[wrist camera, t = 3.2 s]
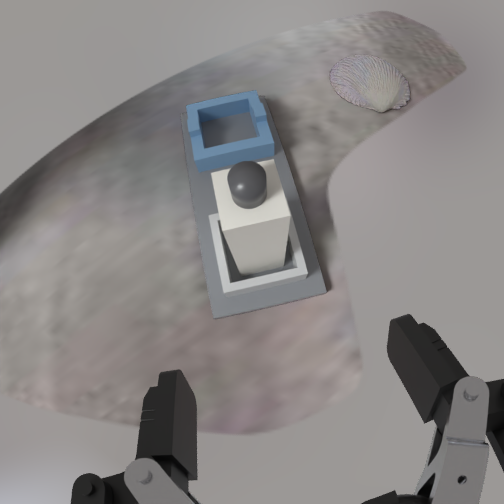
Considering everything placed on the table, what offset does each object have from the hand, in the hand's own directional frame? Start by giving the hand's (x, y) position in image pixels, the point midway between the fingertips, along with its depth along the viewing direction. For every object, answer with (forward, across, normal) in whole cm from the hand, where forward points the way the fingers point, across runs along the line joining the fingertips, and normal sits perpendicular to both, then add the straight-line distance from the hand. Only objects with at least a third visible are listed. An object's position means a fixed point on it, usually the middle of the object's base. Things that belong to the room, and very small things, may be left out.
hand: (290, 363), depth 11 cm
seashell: (+28, -18, -8) cm, 34 cm away
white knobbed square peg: (+15, 0, +3) cm, 15 cm away
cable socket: (+20, 0, -1) cm, 20 cm away
